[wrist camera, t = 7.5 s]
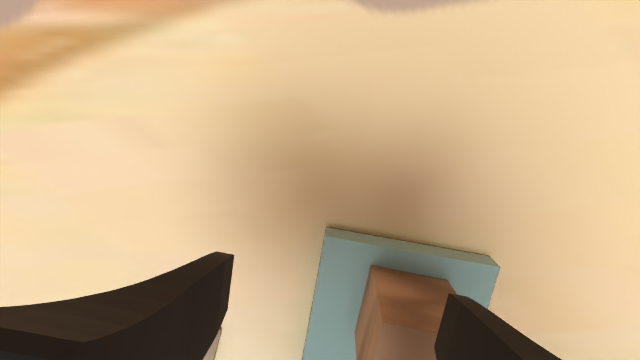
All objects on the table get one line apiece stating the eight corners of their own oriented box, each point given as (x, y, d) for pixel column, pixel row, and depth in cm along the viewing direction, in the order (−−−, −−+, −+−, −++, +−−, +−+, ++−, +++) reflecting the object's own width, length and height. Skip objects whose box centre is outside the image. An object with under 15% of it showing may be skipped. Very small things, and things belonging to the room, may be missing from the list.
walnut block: (447, 279, 20) (487, 343, 15) (428, 347, 21) (458, 429, 16) (370, 264, 20) (382, 322, 15) (354, 332, 21) (360, 410, 16)
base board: (489, 256, 21) (500, 267, 20) (448, 393, 24) (456, 412, 22) (326, 227, 22) (325, 236, 20) (300, 366, 24) (298, 383, 22)
